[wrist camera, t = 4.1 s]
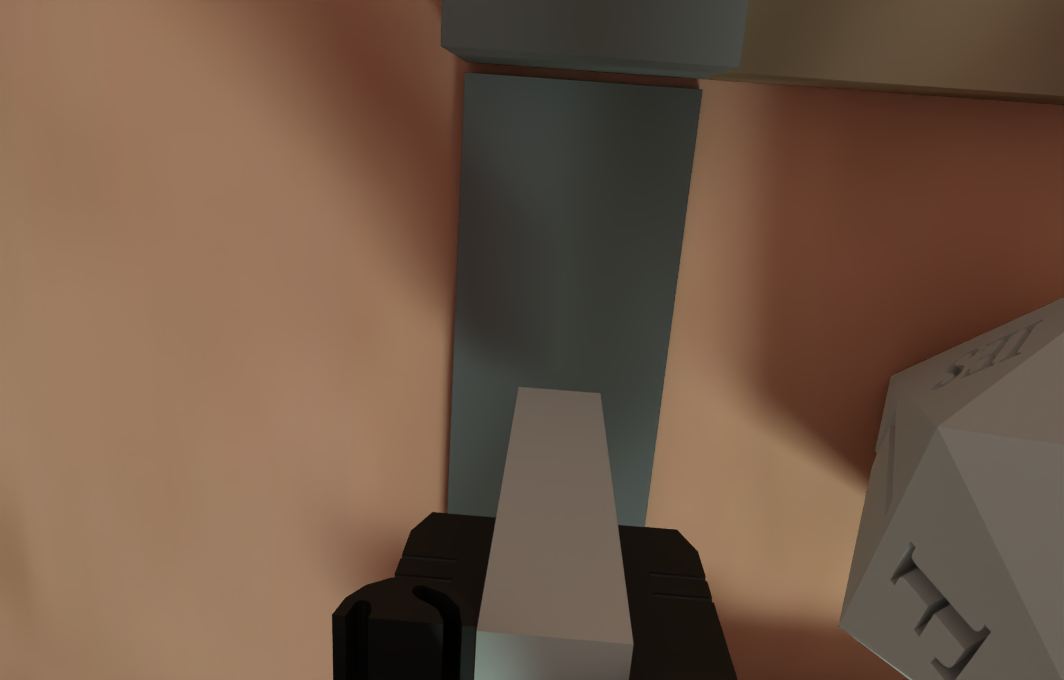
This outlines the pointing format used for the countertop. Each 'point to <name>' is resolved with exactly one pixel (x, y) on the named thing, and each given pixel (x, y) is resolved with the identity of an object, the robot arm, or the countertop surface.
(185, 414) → the countertop surface
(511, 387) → the trap channel
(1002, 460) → the die
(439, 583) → the robot arm
